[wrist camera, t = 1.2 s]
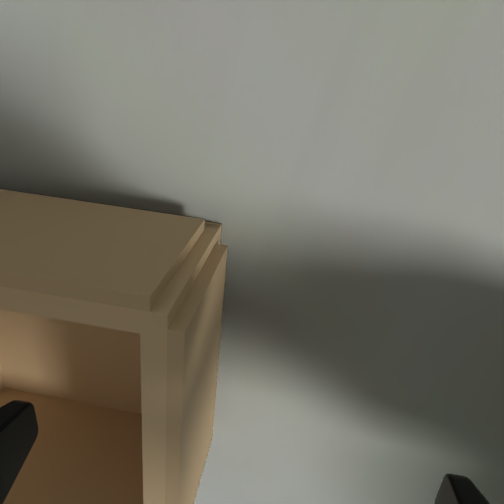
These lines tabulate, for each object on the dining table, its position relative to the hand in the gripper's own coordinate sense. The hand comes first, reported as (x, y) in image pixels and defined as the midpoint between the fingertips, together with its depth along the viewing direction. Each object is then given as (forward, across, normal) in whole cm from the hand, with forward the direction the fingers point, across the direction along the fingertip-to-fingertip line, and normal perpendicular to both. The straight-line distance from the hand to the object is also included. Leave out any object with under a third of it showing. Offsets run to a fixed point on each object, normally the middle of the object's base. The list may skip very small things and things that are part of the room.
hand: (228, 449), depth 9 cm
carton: (+10, +8, +5) cm, 14 cm away
